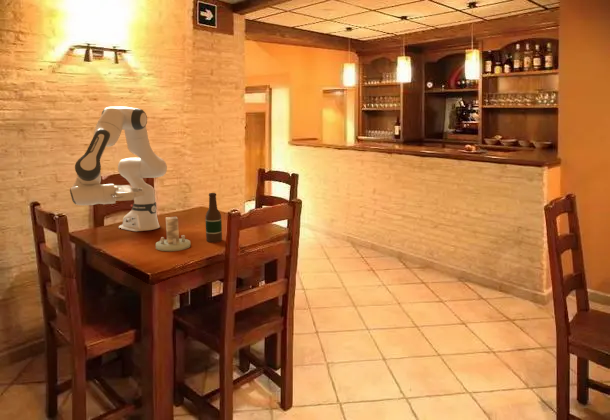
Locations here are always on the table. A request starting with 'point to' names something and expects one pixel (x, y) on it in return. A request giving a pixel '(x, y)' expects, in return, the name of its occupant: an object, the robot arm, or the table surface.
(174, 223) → the birch block
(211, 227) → the beer bottle
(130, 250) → the table surface
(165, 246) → the peg plinth
